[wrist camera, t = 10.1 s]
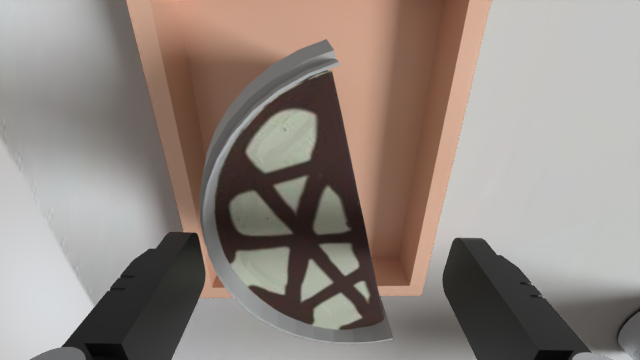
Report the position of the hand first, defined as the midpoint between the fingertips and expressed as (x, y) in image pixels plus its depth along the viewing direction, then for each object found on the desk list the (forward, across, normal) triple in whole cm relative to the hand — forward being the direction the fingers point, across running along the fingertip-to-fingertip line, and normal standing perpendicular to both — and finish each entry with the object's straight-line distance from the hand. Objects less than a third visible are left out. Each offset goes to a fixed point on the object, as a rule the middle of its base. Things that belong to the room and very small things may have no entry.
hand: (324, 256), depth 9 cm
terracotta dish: (+12, +1, +1) cm, 12 cm away
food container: (+11, +2, +1) cm, 11 cm away
